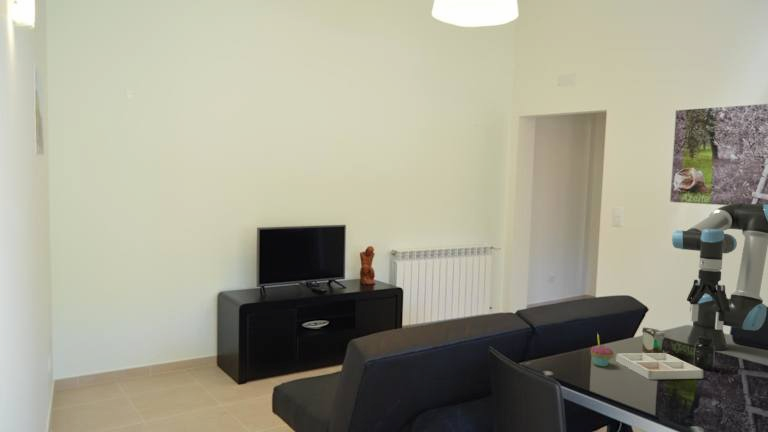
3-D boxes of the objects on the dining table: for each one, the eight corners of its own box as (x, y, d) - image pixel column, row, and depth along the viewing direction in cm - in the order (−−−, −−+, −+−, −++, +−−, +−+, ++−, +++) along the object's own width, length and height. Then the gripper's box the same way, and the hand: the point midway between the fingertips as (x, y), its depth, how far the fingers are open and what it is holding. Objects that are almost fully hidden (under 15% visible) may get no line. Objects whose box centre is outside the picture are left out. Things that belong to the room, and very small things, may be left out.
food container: (669, 360, 235) (670, 335, 234) (653, 359, 235) (655, 334, 234) (655, 351, 247) (657, 327, 246) (640, 350, 247) (642, 327, 247)
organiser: (665, 360, 234) (665, 353, 233) (703, 378, 213) (703, 370, 212) (615, 361, 230) (616, 353, 230) (649, 379, 209) (649, 371, 209)
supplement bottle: (689, 365, 228) (691, 334, 228) (704, 365, 230) (706, 334, 229) (701, 370, 222) (704, 339, 221) (717, 370, 223) (720, 339, 222)
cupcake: (587, 365, 223) (589, 334, 223) (591, 359, 231) (592, 329, 230) (611, 369, 219) (613, 337, 219) (614, 363, 227) (616, 332, 226)
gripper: (679, 265, 235) (675, 317, 236) (725, 274, 211) (721, 333, 212) (696, 265, 236) (692, 317, 237) (744, 275, 212) (739, 333, 213)
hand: (706, 325), depth 225 cm, fingers open, 13 cm apart
